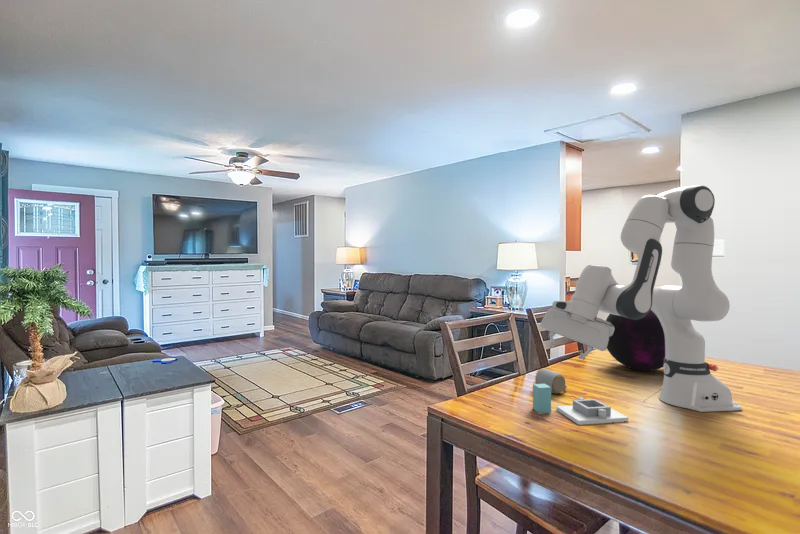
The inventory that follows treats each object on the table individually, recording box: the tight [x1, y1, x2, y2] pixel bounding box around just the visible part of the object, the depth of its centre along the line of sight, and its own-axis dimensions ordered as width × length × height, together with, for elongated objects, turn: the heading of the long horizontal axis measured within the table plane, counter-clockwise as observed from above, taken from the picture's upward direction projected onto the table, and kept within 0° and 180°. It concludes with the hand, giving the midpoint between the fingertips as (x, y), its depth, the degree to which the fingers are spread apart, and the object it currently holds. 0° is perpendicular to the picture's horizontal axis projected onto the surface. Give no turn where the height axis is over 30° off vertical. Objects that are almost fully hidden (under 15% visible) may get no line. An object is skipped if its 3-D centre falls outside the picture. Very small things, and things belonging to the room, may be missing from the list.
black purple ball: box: [605, 310, 665, 372], centre depth 182 cm, size 30×30×30 cm
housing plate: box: [556, 396, 629, 426], centre depth 127 cm, size 16×12×4 cm
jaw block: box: [532, 383, 552, 415], centre depth 131 cm, size 4×4×8 cm
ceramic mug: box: [534, 367, 568, 395], centre depth 152 cm, size 11×8×8 cm
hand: (565, 352), depth 131 cm, fingers open, 8 cm apart
